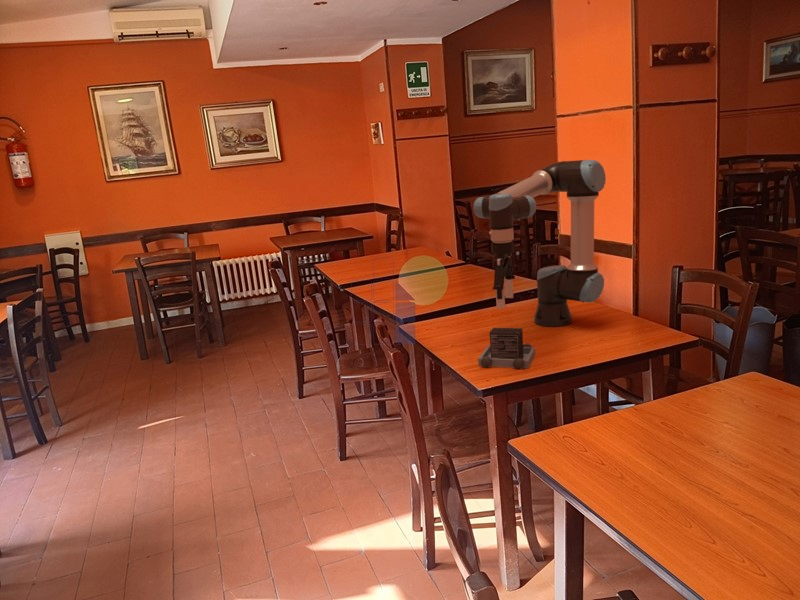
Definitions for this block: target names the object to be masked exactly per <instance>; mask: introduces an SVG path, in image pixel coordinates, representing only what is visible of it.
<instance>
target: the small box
mask: <svg viewBox="0 0 800 600" xmlns="http://www.w3.org/2000/svg"><path fill="white" fill-rule="evenodd" d="M523 333H524V332H523V327H522V328H521V327H518V328H517V327H515V328H514V327H493V328H491V330H490V331H489V346H490V349H491V358H499V359H516V358H521V359H522V358H523V356H524V355H523V345H524V340H523V339H524V336H523V335H524V334H523Z"/></svg>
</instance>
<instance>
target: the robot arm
mask: <svg viewBox="0 0 800 600" xmlns="http://www.w3.org/2000/svg"><path fill="white" fill-rule="evenodd" d="M606 177H607V176H606V171H605V169H604V166H603V165H602V164H601V163H600V162H599V161H598V160H596V159H581V160H566V161H565V160H563V161H558V162H554V163H552V164H549V165H547V166H545V167H543V168H541V169H538V170H535V171H534V173H532V175H531V176H530V177H527V178H525V179H523V180H521V181H519V182H517V183H515V184H513V185H511V186H509V187H507V188H505V189H503V190H500V191H499V192H497V193H493V194H491V195H489V196H482V197H480V196H479V197H477V198H476V199H475V201H474V202H473V212H474V215H475V216H476V217H477V218H480V219H489V228H490V231H489V232H488V234H489V235H490V241H491V243H490V249H491V254H493V255H497V258H495V259H494V274H493V275H494V279H493V287H492V290H495V300H496V301H495V302H496V303H495V304H496V305H495V306H496V309H506V299H513V298H514V283H513V282H514V280H516V279H515V277H516V276H515V273H514V268H513V267H514V266H513V261H512V253H515V243H514V242H515V241H514V240H515V239H514V238H515V236H514V221H518V220H519V221H520V220H523V219H528V218H530V217H532V216H534V214H536V212H537V203H536V199H534V198H536V197H538V196H540V195H542V196H545V195H548V194H549V193H556V192H558V193H560V192H561V193H566V198H567V199H568V200H569V201H570V263H569V264H568V265H563V264H561V265H560V264H558V265H551V266H545V267H542V268H539V269H538V271H537V274H536V275H537V276H536V283H537V307H536V310H535V313H534V317H533V320H534V321H533V322H534V323H535V324H536V325H537V326H541V327H553V328H554V327H563V326H567V325H569V324H571V323H572V322H573V317H572V313H571V310H570V308H569V304H568V301H574V302H575V301H576V302H580V303H593V302H596V301H597V300H598V299H599V298H600V296H601V295H602V293H603V289H604V285H605V278H604V275H603V274H602V273H600V272H599V271H598V269H599V268H598V265H596V264H595V262H594V261H595V260H594V259H595V257H594V256H595V200H597V198H598V197H599V193H600V192H601V191H603V189H604V188H605V185H606Z"/></svg>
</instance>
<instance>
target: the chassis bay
mask: <svg viewBox="0 0 800 600" xmlns="http://www.w3.org/2000/svg"><path fill="white" fill-rule="evenodd" d="M523 355H524V356H523V358H522V359H521V358H516V359H499V358H491V349H490V344H489V345H487V346H486V347H485V349H484V350H483V352H482V353H481V354H480V356H479V357H478V358H477V360H478V362H477V363H478V366H479V367H483V368H485V369H488V368H490V367H491V368H492V367H493V368H496V367H497V368H507V369H508V368H512V369H516V370H517V371H518V370H522V369H529V368H530V366H531V365H532V362H533V360H534V358H535V356H536V347H533V345H531V344H530V343H526V342H525V343H523Z"/></svg>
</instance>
